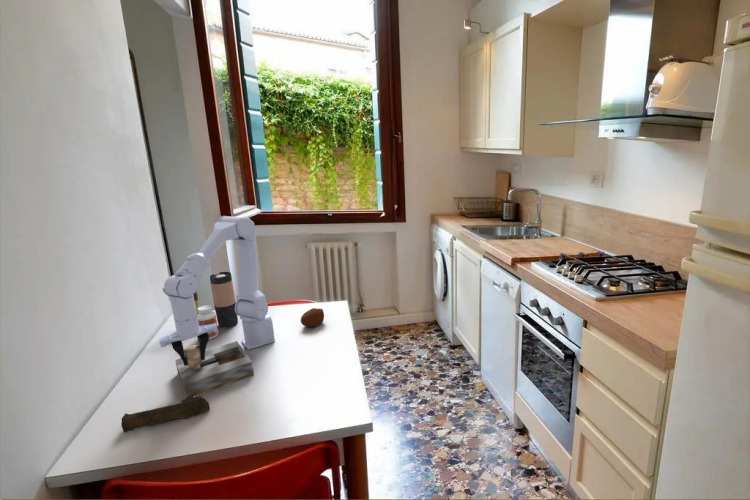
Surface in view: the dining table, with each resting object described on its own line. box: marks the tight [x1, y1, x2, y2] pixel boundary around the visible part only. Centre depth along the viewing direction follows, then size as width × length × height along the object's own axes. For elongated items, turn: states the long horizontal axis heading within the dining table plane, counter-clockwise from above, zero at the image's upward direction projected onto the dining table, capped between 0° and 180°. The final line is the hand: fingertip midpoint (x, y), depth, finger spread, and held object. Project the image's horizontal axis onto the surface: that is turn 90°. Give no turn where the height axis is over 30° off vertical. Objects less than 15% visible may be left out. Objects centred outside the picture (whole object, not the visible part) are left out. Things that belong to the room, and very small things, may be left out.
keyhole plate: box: [175, 340, 255, 399], centre depth 111 cm, size 18×16×4 cm
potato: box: [300, 307, 325, 328], centre depth 140 cm, size 7×9×6 cm
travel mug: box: [209, 271, 239, 329], centre depth 143 cm, size 8×8×20 cm
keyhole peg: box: [184, 344, 202, 370], centre depth 108 cm, size 5×5×9 cm
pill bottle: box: [197, 304, 219, 340], centre depth 135 cm, size 6×6×11 cm
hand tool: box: [121, 395, 211, 433], centre depth 92 cm, size 19×4×5 cm, turn 105°
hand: (194, 361), depth 108 cm, fingers closed on keyhole peg, 4 cm apart
